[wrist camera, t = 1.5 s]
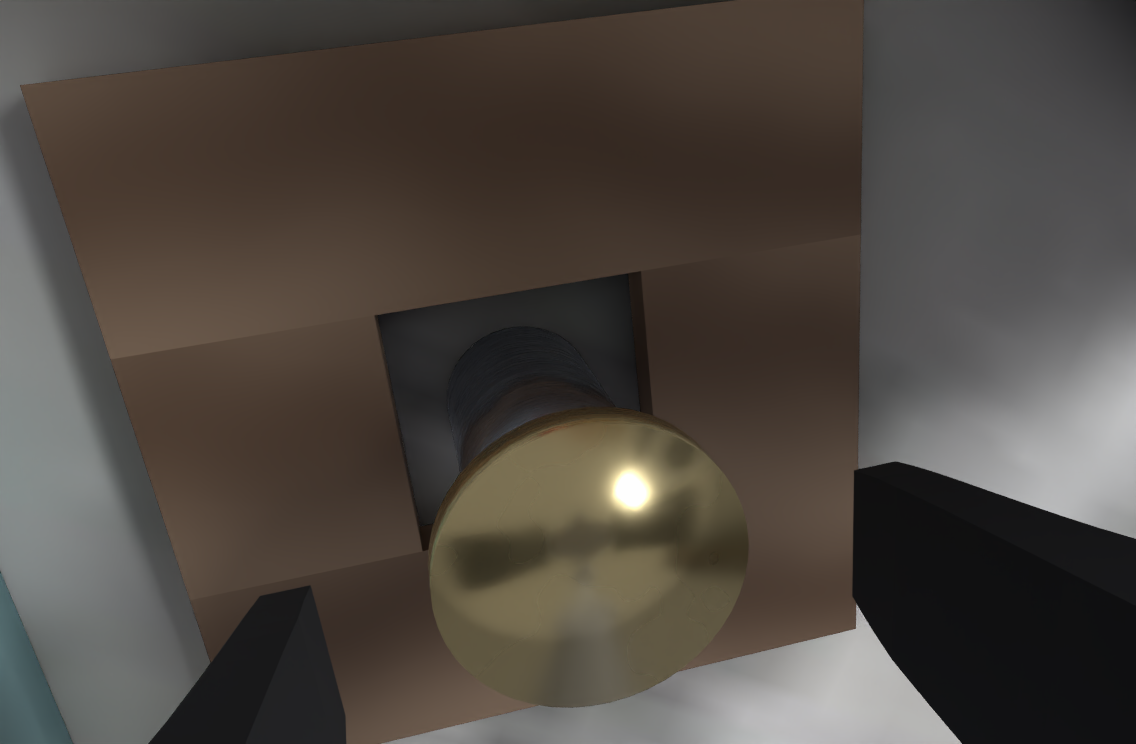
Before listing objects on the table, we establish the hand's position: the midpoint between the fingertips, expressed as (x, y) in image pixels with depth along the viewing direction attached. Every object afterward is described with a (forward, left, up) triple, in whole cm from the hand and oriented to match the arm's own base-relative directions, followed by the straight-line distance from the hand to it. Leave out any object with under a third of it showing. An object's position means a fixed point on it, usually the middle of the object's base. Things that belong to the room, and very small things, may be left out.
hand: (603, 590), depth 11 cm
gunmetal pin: (0, 0, -7) cm, 7 cm away
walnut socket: (0, 0, -7) cm, 7 cm away
